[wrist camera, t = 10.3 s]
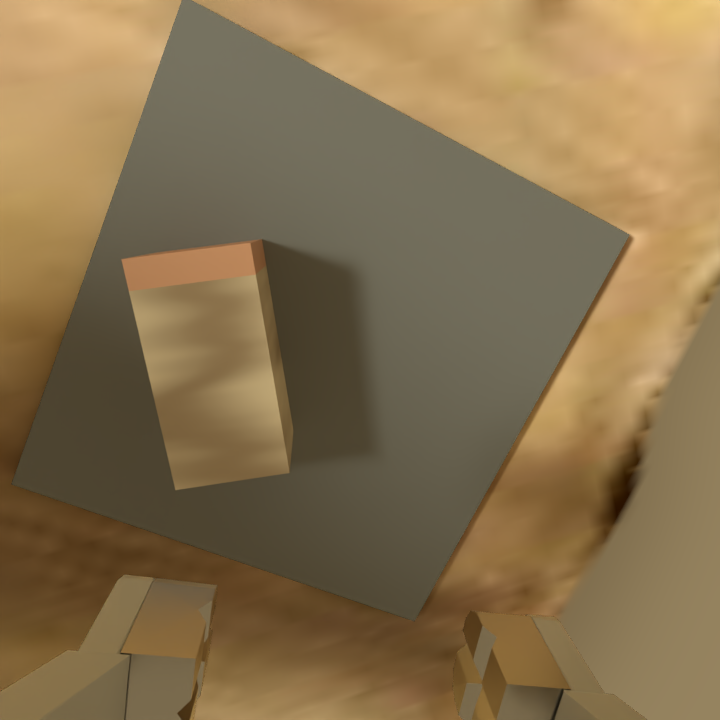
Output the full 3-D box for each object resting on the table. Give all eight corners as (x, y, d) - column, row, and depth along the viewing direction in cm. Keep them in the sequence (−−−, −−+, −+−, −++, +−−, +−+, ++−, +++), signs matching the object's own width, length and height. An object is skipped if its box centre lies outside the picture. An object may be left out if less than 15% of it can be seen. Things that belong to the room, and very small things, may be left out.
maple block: (175, 490, 19) (121, 259, 16) (199, 443, 22) (157, 252, 20) (289, 472, 19) (250, 242, 17) (293, 430, 23) (262, 239, 21)
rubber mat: (17, 478, 23) (11, 484, 22) (186, 1, 19) (183, -4, 18) (412, 614, 26) (414, 621, 26) (622, 234, 22) (629, 234, 22)
